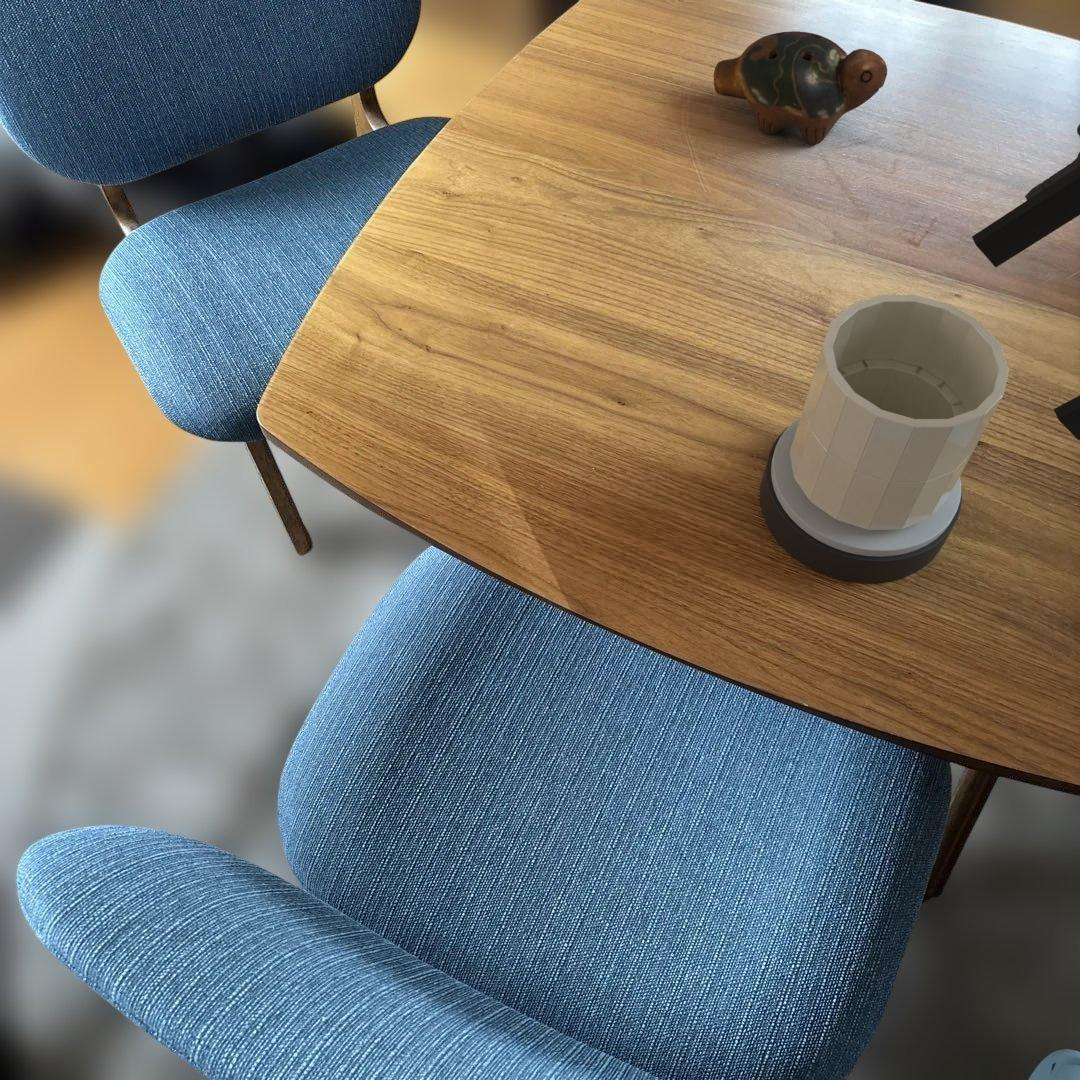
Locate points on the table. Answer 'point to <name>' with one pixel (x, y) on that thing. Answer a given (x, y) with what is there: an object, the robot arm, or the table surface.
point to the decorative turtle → (800, 81)
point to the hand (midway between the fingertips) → (1021, 333)
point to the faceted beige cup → (895, 410)
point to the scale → (845, 529)
